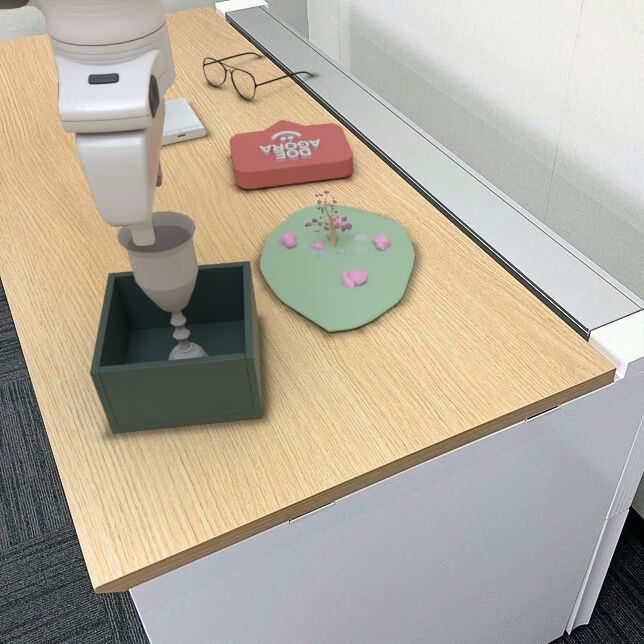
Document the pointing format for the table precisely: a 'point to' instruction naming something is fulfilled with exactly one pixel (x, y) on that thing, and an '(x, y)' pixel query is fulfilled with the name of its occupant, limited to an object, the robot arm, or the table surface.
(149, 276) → the chalice
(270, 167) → the plaque
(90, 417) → the table surface
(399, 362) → the table surface
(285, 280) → the plant
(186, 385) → the tub
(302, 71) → the glasses
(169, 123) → the hard drive
